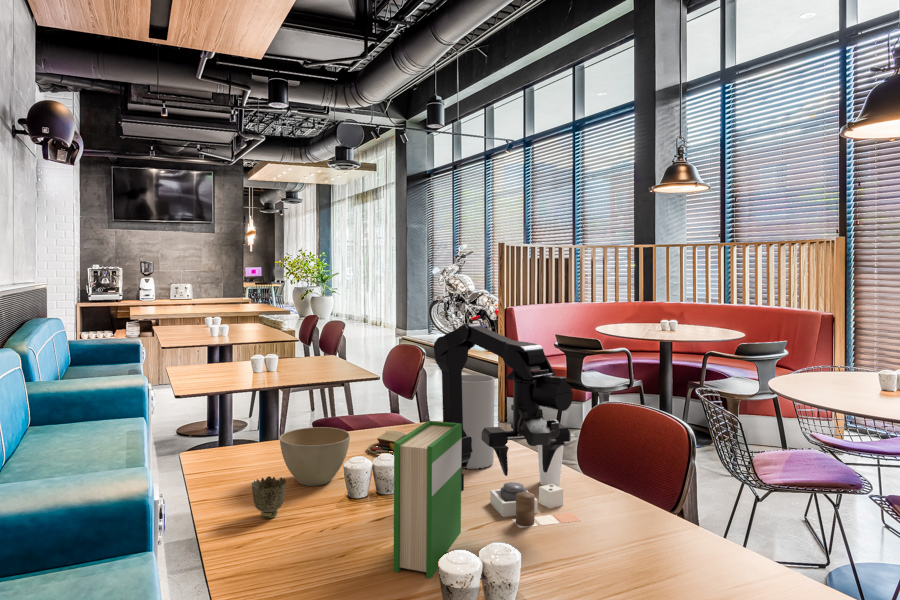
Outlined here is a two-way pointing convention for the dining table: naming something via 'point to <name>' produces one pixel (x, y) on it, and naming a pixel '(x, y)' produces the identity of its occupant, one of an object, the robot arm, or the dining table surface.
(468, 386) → the cylinder vase
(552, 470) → the white tapered vase
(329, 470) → the deep taupe bowl
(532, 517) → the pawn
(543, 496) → the die
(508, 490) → the popper button
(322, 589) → the dining table surface
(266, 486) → the cup
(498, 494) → the board
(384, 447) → the toy sandwich meal
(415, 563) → the hardback book
